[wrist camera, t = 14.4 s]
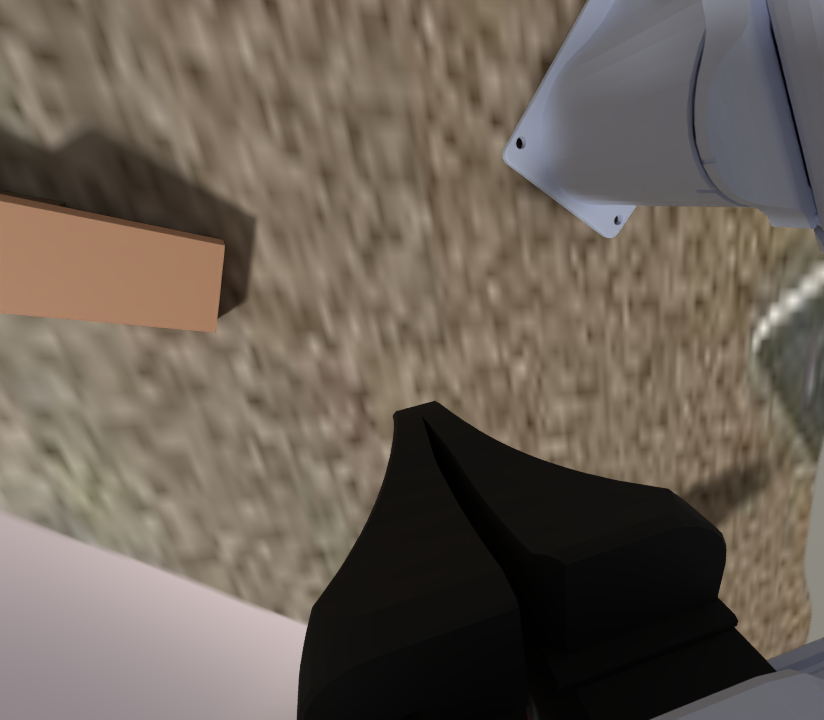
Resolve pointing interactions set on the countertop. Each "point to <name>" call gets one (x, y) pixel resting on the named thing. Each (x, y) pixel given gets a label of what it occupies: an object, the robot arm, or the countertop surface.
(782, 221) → the robot arm
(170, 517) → the countertop surface
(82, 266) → the domino
